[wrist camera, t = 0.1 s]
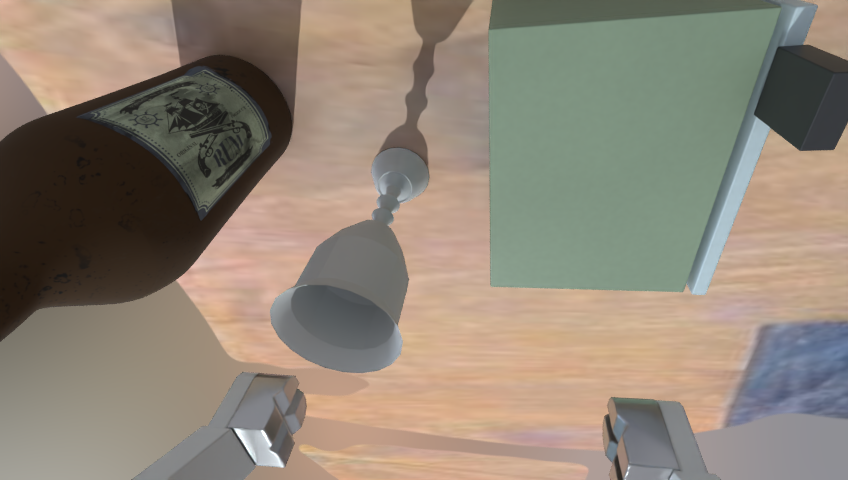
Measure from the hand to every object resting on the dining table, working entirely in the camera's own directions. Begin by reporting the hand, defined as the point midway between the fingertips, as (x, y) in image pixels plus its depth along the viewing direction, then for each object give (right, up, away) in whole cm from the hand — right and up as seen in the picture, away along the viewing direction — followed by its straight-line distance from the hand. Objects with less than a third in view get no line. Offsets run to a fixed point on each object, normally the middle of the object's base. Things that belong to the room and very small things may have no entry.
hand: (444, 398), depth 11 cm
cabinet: (+11, +14, +21) cm, 27 cm away
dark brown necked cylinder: (-16, +15, +25) cm, 33 cm away
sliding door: (+17, +13, +19) cm, 29 cm away
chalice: (-3, +10, +26) cm, 28 cm away
